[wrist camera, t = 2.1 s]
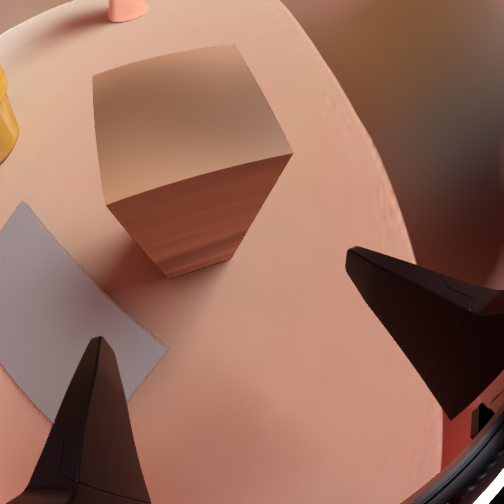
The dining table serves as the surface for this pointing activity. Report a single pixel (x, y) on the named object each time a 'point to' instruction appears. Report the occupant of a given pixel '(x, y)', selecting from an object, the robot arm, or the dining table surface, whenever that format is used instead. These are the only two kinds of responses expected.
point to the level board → (59, 317)
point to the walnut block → (186, 153)
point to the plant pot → (6, 120)
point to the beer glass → (126, 9)
